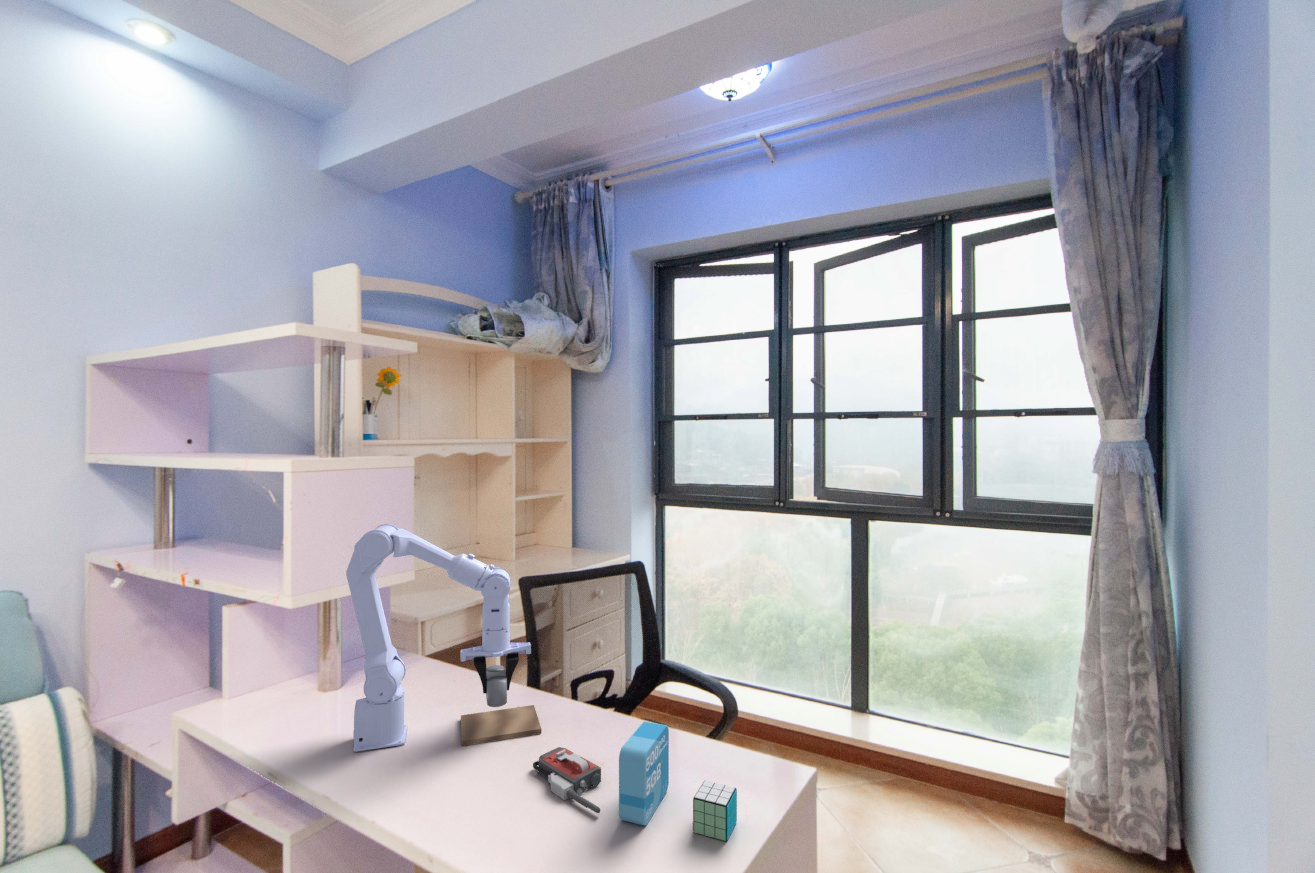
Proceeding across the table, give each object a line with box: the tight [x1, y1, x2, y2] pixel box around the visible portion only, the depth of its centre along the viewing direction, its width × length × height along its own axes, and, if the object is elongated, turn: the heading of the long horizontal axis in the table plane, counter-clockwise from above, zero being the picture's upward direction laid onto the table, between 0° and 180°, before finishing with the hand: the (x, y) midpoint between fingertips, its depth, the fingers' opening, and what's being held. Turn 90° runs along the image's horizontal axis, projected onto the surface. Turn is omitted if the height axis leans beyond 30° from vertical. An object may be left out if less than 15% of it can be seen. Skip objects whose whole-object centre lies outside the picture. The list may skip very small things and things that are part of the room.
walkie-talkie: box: [532, 746, 602, 814], centre depth 109 cm, size 9×4×20 cm
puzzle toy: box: [692, 779, 738, 842], centre depth 97 cm, size 6×6×6 cm
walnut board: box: [460, 704, 542, 747], centre depth 131 cm, size 16×12×1 cm
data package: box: [618, 721, 670, 826], centre depth 103 cm, size 12×4×12 cm, turn 160°
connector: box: [485, 664, 508, 708], centre depth 131 cm, size 4×13×5 cm, turn 19°
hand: (495, 689), depth 129 cm, fingers closed on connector, 4 cm apart
